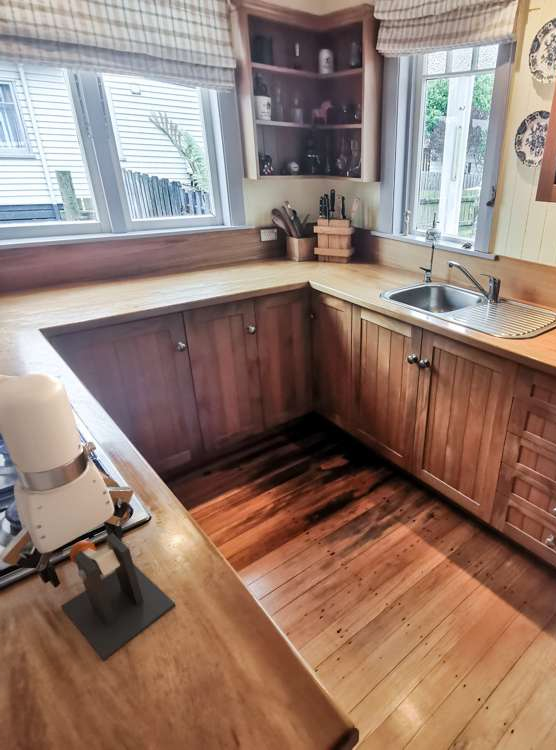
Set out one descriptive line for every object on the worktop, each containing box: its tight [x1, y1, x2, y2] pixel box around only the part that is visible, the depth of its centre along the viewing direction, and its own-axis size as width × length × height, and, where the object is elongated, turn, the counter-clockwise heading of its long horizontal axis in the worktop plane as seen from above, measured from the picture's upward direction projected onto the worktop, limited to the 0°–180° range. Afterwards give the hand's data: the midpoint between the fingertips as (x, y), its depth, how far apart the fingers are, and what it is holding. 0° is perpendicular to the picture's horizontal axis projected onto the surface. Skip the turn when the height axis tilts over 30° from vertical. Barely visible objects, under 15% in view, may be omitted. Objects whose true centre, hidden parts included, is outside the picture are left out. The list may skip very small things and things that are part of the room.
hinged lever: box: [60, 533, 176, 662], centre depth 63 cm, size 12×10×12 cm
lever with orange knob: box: [69, 539, 120, 577], centre depth 65 cm, size 12×3×3 cm, turn 53°
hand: (86, 561), depth 68 cm, fingers open, 8 cm apart
